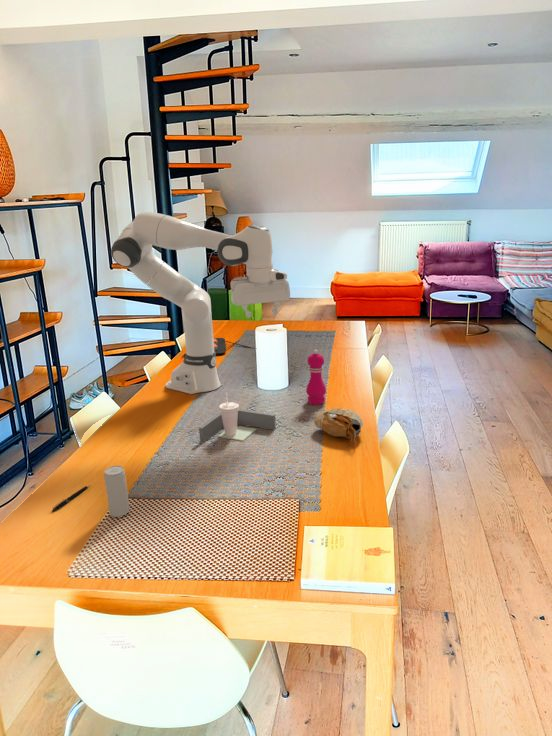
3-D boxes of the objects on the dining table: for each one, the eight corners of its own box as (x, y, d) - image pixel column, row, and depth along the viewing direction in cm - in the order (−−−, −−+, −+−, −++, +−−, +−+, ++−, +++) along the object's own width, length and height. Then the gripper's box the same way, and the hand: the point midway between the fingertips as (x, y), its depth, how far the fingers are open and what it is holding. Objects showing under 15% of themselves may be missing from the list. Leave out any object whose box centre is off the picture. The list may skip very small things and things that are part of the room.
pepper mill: (324, 405, 202) (324, 352, 196) (305, 404, 203) (304, 352, 197) (327, 398, 209) (326, 347, 202) (308, 397, 210) (307, 346, 204)
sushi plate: (197, 342, 293) (196, 335, 292) (254, 339, 296) (253, 332, 295) (196, 358, 266) (195, 350, 264) (258, 354, 268) (258, 346, 267)
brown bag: (373, 451, 168) (324, 457, 166) (355, 419, 187) (311, 425, 186) (373, 428, 165) (323, 434, 163) (355, 398, 184) (310, 403, 183)
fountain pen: (89, 485, 153) (88, 481, 153) (92, 486, 153) (91, 481, 152) (50, 513, 140) (49, 508, 140) (53, 514, 140) (52, 509, 140)
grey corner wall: (200, 442, 176) (199, 427, 175) (228, 420, 192) (227, 407, 190) (250, 451, 169) (250, 436, 167) (275, 428, 184) (275, 414, 183)
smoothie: (226, 428, 185) (223, 388, 181) (244, 430, 183) (241, 390, 178) (217, 436, 179) (214, 395, 175) (235, 438, 177) (232, 397, 173)
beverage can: (112, 508, 141) (106, 466, 137) (131, 507, 141) (125, 464, 138) (108, 519, 137) (101, 475, 133) (128, 517, 137) (122, 474, 133)
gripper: (232, 279, 181) (235, 320, 185) (291, 273, 187) (292, 314, 191) (227, 276, 186) (230, 317, 191) (284, 271, 193) (285, 310, 197)
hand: (261, 315), depth 191 cm, fingers open, 8 cm apart
